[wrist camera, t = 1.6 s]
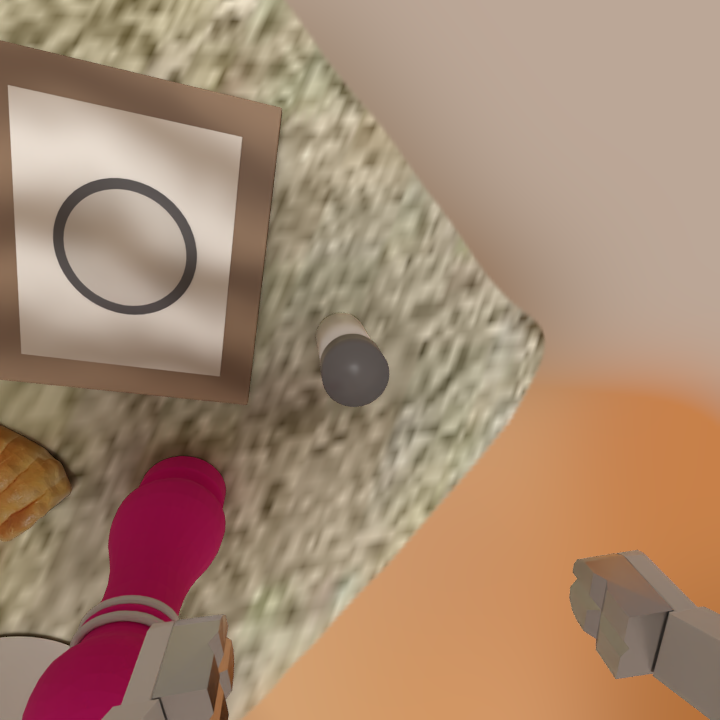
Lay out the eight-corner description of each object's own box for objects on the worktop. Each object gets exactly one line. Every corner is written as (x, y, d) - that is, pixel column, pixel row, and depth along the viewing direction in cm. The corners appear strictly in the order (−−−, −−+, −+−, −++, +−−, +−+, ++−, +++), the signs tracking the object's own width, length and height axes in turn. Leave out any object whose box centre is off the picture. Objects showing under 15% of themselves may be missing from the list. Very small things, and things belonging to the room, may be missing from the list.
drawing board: (248, 396, 32) (246, 407, 31) (3, 370, 29) (-15, 380, 27) (281, 113, 27) (281, 106, 25) (-18, 41, 24) (-43, 28, 22)
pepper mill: (248, 506, 35) (202, 837, 17) (165, 541, 35) (28, 913, 17) (204, 434, 33) (93, 732, 14) (115, 472, 33) (-114, 822, 14)
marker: (360, 364, 33) (381, 409, 25) (310, 357, 32) (317, 402, 25) (370, 315, 32) (395, 348, 24) (318, 307, 31) (328, 339, 24)
